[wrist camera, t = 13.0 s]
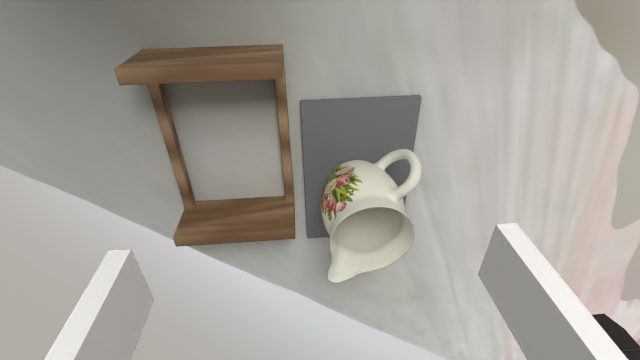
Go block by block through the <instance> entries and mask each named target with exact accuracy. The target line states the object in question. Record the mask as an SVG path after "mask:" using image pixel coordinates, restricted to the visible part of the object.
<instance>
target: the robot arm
mask: <svg viewBox="0 0 640 360" xmlns="http://www.w3.org/2000/svg"><path fill="white" fill-rule="evenodd" d="M478 275H479V277H480V279H481V280H482V282H483V284H484V286H485V287H486V289H487V291H488V293H489V294H490V296H491V298H492V300H493V301H494V303H495V305H496V306H497V308H498V310H499V312H500V313H501V315H502V317H503V319H504V320H505V322H506V324H507V326H508V327H509V329H510V331H511V332H512V334H513V336H514V338H515V339H516V341H517V343H518V345H519V346H520V348H521V350H522V352H523V353H524V355H525V357H526V358H527V360H640V346H639V345H638V344H637V343H636V342H635V341H634V339H633V338H632V337H631V336H630V335H629V334H628V333H627V331H626V330H625V329H624V328H622V327H621V326H620V325H618V324H617V323H616V322H614V321H613V320H612V319H610V318H609V317H608V316H606V315H605V314H596V315H591V314H590V313H589V311H588V310H587V309H586V308H585V306H584V305H583V304H582V303H581V302H580V300H579V299H578V298H577V297H576V295H575V294H574V293H573V292H572V291H571V289H570V288H569V287H568V286H567V284H566V283H565V282H564V281H563V280H562V278H561V277H560V276H559V275H558V273H557V272H556V271H555V270H554V269H553V267H552V266H551V265H550V264H549V263H548V261H547V260H546V259H545V258H544V256H543V255H542V254H541V253H540V252H539V250H538V249H537V248H536V247H535V245H534V244H533V243H532V242H531V241H530V239H529V238H528V237H527V236H526V234H525V233H524V232H523V231H522V230H521V228H520V227H519V226H518V225H517V224H516V223H511V224H496V226H495V229H494V232H493V234H492V237H491V240H490V243H489V246H488V248H487V251H486V254H485V257H484V260H483V262H482V265H481V268H480V271H479V273H478ZM153 300H154V298H153V296H152V293H151V291H150V289H149V287H148V285H147V283H146V281H145V278H144V276H143V274H142V272H141V270H140V268H139V265H138V263H137V261H136V259H135V257H134V254H133V253H132V250H131V249H126V250H111V251H108V252H107V254H106V256H105V258H104V259H103V261H102V262H101V264H100V266H99V268H98V269H97V271H96V273H95V274H94V276H93V278H92V279H91V281H90V283H89V285H88V286H87V288H86V290H85V291H84V293H83V295H82V297H81V298H80V300H79V301H78V303H77V305H76V307H75V308H74V310H73V312H72V313H71V315H70V317H69V318H68V320H67V322H66V324H65V325H64V327H63V329H62V330H61V332H60V334H59V336H58V337H57V339H56V341H55V342H54V344H53V346H52V348H51V349H50V351H49V352H48V354H47V356H46V358H45V359H44V360H131V358H132V356H133V353H134V350H135V348H136V345H137V342H138V340H139V337H140V335H141V332H142V329H143V327H144V324H145V322H146V319H147V316H148V313H149V311H150V308H151V306H152V303H153Z"/></svg>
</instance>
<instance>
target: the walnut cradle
mask: <svg viewBox="0 0 640 360" xmlns="http://www.w3.org/2000/svg"><path fill="white" fill-rule="evenodd" d="M114 71H115V74H116V77H117V80H118V83H119V85H140V84H148V88H149V91H150V94H151V98H152V101H153V104H154V107H155V111H156V114H157V117H158V121H159V124H160V127H161V130H162V134H163V137H164V140H165V144H166V147H167V150H168V153H169V157H170V160H171V163H172V167H173V170H174V173H175V176H176V180H177V183H178V186H179V190H180V193H181V196H182V200H183V203H184V206H185V209H184V212H183V214H182V217H181V219H180V222H179V224H178V227H177V229H176V232H175V234H174V237H173V239H174V242H175V245H176V246H191V245H206V244H222V243H237V242H252V241H267V240H283V239H295V207H294V191H293V178H292V164H291V151H290V138H289V125H288V111H287V98H286V85H285V71H284V58H283V45H282V44H280V45H252V46H224V47H196V48H168V49H142V50H141V51H140V52H138V53H137V54H135V55H134V56H132V57H131V58H129V59H128V60H127V61H125V62H124V63H122V64H121V65H119V66H118V67H117V68H115V69H114ZM262 79H275V87H276V97H277V108H278V119H279V130H280V141H281V152H282V163H283V174H284V184H285V195H286V196H277V197H261V198H244V199H227V200H210V201H195V198H194V195H193V191H192V187H191V184H190V180H189V177H188V173H187V170H186V166H185V162H184V159H183V155H182V152H181V148H180V144H179V141H178V137H177V134H176V130H175V126H174V123H173V119H172V116H171V112H170V108H169V105H168V101H167V98H166V94H165V91H164V87H163V84H165V83H189V82H213V81H238V80H262Z"/></svg>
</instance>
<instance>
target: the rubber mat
mask: <svg viewBox="0 0 640 360" xmlns="http://www.w3.org/2000/svg"><path fill="white" fill-rule="evenodd" d="M300 102H301V121H302V141H303V160H304V179H305V199H306V218H307V237H308V238H316V237H330V235H329V234H328V232H327V230H326V228H325V225H324V222H323V218H322V212H321V198H322V192H323V188H324V185H325V183H326V180H327V178H328V177H329V175H330V174H331V173H332V171H333V170H334V169H335V168H337V167H338V166H339V165H341V164H343V163H345V162H348V161H352V160H364V161H367V162H370V163H372V164H374V163H376V162H378V161H379V160H380V159H381V158H383V157H384V156H385V155H387V154H388V153H390V152H392V151H395V150H398V149H408V150H410V151H412V152H413V149H414V143H415V136H416V130H417V123H418V117H419V110H420V104H421V96H420V95H411V96H388V97H366V98H343V99H321V100H300ZM385 172H386V173H387V174H388V175H389V176H390V177H391V178H392V179H393V180H394V182H395V183H396V185H397V186H398V187H399V186H401V185H402V184H403V183H404V182H405V181H406V180H407V178H408V176H409V174H410V163H409V162H408V160H407V159H401V160H398V161H395V162H393V163H392V164H390V165H389V166H388V167H386V168H385ZM403 201H404V206H405V201H406V196H404V197H403Z"/></svg>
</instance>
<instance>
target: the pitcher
mask: <svg viewBox="0 0 640 360" xmlns="http://www.w3.org/2000/svg"><path fill="white" fill-rule="evenodd" d="M401 159H407V160H408V162H409V163H410V174H409V176H408V178H407V180H406V181H405V182H404V183H403V184H402V185H401V186H399V187H398V186H397V185H396V183H395V182H394V180H393V179H392V178H391V177H390V176H389V175H388V174H387V173H386V172H385V168H386V167H388V166H389V165H390V164H392V163H393V162H395V161H398V160H401ZM421 174H422V169H421V163H420V160H419V159H418V157H417V156H416V155H415V154H414V153H413V152H412V151H410V150H408V149H398V150H395V151H392V152H390V153H388V154H387V155H385V156H384V157H383V158H381V159H380V160H379V161H378V162H376V163H374V164H372V163H370V162H367V161H364V160H352V161H348V162H345V163H343V164H341V165H339V166H338V167H337V168H335V169H334V170H333V171H332V173H331V174H330V175H329V177H328V178H327V180H326V183H325V185H324V188H323V192H322V198H321V212H322V218H323V222H324V225H325V228H326V230H327V232H328V234H329V235H330V242H329V244H330V252H331V256H332V261H331V264H330V266H329V269H328V272H327V279H328V281H330V282H332V283H340V282H343V281H346V280H348V279H350V278H352V277H354V276H356V275H358V274H361V273H365V272H370V271H375V270H378V269H381V268H384V267H386V266H388V265H390V264H392V263H394V262H395V261H397V260H398V259H399V258H401V257H402V256H403V255H404V254H405V253H406V252H407V250H408V249H409V248H410V246H411V244H412V242H413V239H414V226H413V224H412V221H411V220H410V218H409V217H408V216H407V215H406V213H405V206H404V201H403V197H404V196H406V195H408V194H409V193H410V192H412V191H413V190H414V189H415V188H416V186H417V185H418V183H419V181H420V178H421Z"/></svg>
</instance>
